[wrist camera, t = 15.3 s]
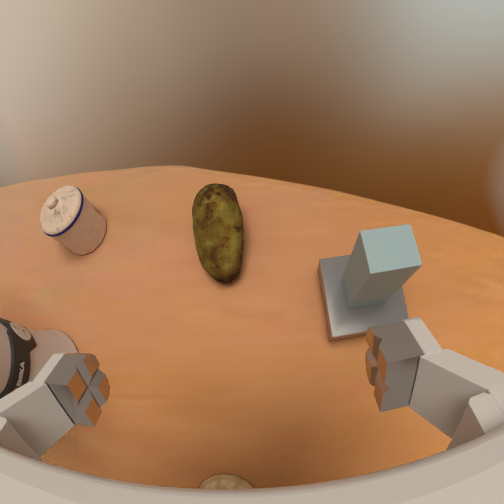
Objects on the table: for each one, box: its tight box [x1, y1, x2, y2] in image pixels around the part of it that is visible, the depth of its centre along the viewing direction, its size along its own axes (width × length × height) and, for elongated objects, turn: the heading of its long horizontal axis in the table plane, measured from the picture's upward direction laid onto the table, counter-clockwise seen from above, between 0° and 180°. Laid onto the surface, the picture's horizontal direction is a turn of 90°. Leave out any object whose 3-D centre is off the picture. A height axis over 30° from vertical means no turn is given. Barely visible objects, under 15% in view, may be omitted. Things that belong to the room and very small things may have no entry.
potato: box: [192, 184, 243, 282], centre depth 44 cm, size 8×13×8 cm, turn 167°
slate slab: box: [318, 255, 409, 341], centre depth 40 cm, size 10×10×4 cm
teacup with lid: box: [40, 186, 106, 255], centre depth 47 cm, size 12×9×12 cm
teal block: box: [342, 224, 422, 309], centre depth 32 cm, size 4×5×13 cm
